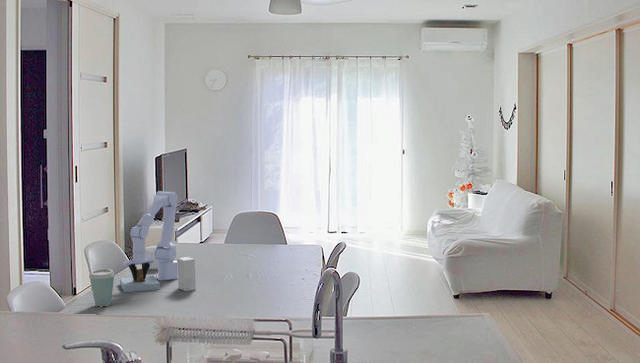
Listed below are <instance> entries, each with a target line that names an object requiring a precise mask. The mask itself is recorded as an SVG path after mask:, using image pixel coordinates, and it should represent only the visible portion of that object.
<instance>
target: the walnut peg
mask: <svg viewBox="0 0 640 363" xmlns="http://www.w3.org/2000/svg"><path fill="white" fill-rule="evenodd" d="M135 282H144V279H143V269H142V268H137V270H136V280H135Z"/></svg>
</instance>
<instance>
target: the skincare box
mask: <svg viewBox="0 0 640 363" xmlns="http://www.w3.org/2000/svg"><path fill="white" fill-rule="evenodd" d="M176 261H177V266H178V279H177V281H178V285H177V286H178V289H180V290H182V291H184V292H189V291H191V292H192V291H196V288H197V286H196V285H197V284H196V265H195V264H196V262H195V261H196V260H195V258H192V257H190V256H185V257H177V260H176Z"/></svg>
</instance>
